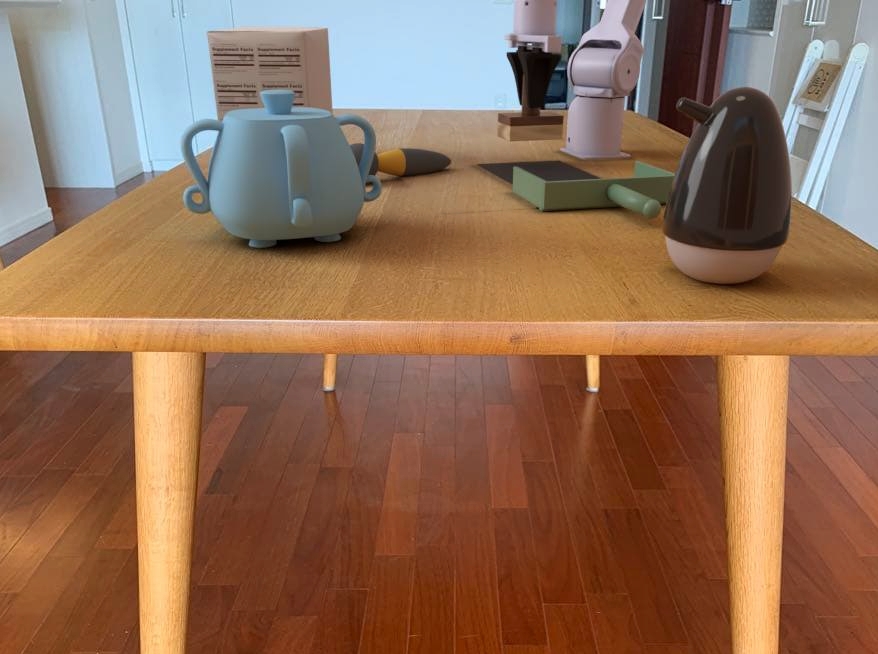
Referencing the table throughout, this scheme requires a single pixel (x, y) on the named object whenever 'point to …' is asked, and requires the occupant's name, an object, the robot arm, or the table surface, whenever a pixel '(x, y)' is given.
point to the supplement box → (270, 66)
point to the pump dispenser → (730, 190)
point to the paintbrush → (403, 161)
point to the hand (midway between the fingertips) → (531, 106)
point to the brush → (530, 123)
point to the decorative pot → (282, 172)
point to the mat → (539, 170)
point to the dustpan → (598, 191)
